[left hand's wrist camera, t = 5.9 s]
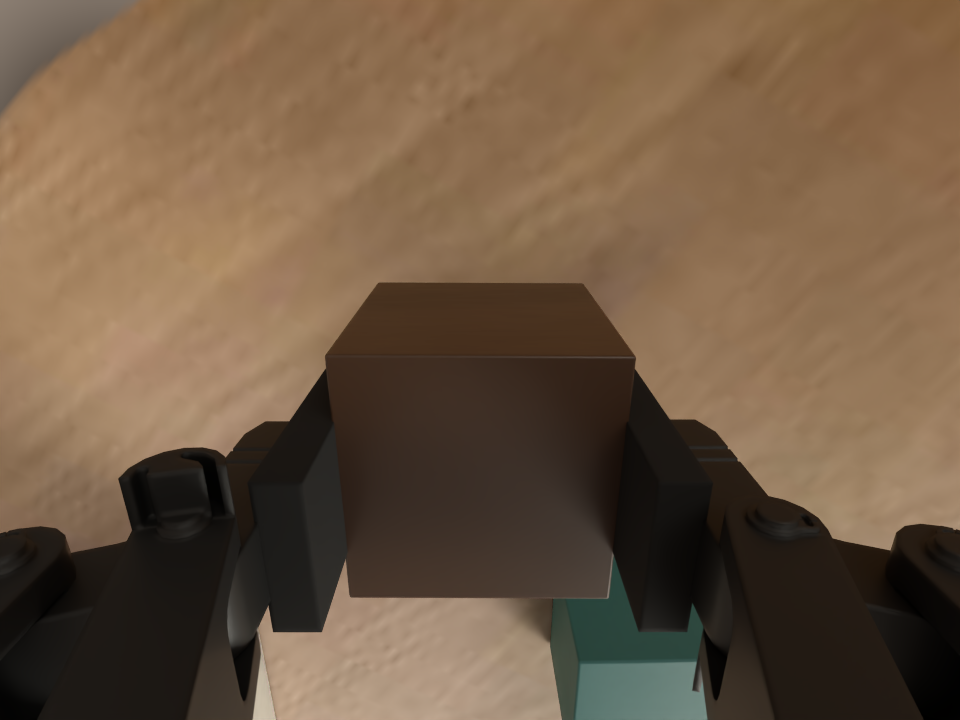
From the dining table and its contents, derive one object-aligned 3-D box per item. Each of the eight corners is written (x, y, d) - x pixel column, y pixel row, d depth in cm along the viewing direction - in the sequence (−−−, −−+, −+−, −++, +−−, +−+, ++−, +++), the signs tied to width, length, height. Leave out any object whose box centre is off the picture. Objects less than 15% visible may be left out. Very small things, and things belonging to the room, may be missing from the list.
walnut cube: (377, 282, 14) (324, 355, 9) (583, 282, 14) (637, 356, 9) (389, 460, 15) (349, 598, 11) (570, 461, 15) (609, 600, 11)
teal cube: (555, 554, 23) (578, 662, 18) (678, 552, 23) (733, 659, 18) (549, 646, 24) (569, 766, 20) (663, 644, 24) (709, 762, 20)
